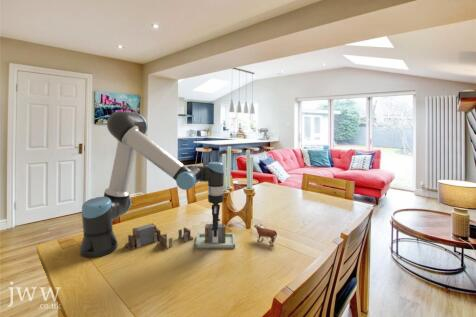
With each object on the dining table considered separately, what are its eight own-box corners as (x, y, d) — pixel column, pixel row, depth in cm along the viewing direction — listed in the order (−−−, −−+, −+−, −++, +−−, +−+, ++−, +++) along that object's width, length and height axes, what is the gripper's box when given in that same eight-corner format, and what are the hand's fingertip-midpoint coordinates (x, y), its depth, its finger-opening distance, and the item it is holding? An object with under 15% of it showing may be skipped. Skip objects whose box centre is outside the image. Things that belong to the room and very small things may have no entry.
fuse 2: (205, 242, 122) (205, 227, 121) (205, 239, 126) (205, 224, 125) (225, 242, 122) (225, 227, 121) (225, 239, 126) (225, 224, 125)
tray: (194, 248, 117) (194, 245, 117) (197, 236, 130) (197, 233, 130) (235, 248, 118) (235, 244, 118) (234, 236, 131) (234, 233, 131)
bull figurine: (255, 236, 132) (256, 221, 131) (278, 244, 123) (278, 228, 122) (250, 239, 128) (251, 223, 127) (273, 247, 120) (274, 231, 119)
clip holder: (163, 249, 116) (162, 239, 115) (157, 245, 120) (156, 235, 120) (193, 239, 127) (193, 230, 126) (186, 235, 131) (186, 226, 131)
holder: (130, 250, 115) (129, 240, 114) (125, 245, 119) (125, 235, 119) (163, 239, 126) (163, 230, 125) (157, 235, 131) (157, 226, 130)
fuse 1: (136, 247, 118) (135, 231, 117) (133, 244, 121) (132, 228, 120) (156, 240, 125) (156, 225, 124) (153, 238, 128) (152, 223, 126)
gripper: (223, 200, 111) (223, 248, 114) (223, 188, 132) (223, 229, 135) (206, 200, 110) (206, 248, 113) (209, 188, 132) (209, 229, 134)
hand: (215, 237), depth 124 cm, fingers open, 9 cm apart
